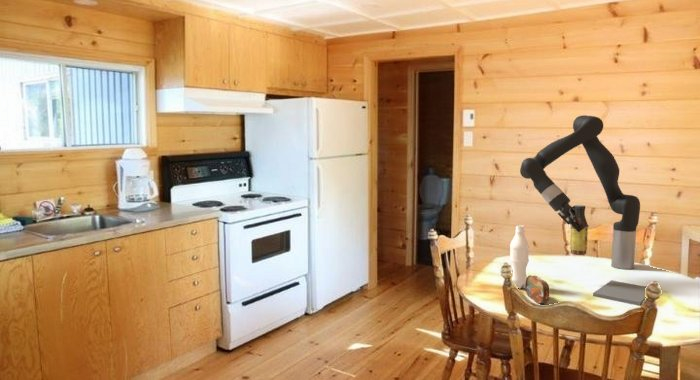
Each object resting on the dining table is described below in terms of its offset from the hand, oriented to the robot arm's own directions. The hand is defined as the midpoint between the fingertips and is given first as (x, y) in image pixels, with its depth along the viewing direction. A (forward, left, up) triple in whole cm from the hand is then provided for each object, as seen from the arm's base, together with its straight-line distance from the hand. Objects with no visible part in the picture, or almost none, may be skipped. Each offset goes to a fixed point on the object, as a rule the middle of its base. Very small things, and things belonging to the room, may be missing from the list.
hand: (583, 229), depth 206 cm
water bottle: (+20, -18, -23) cm, 35 cm away
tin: (+30, -6, -23) cm, 38 cm away
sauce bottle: (0, -2, -11) cm, 11 cm away
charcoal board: (+1, +16, -23) cm, 28 cm away
